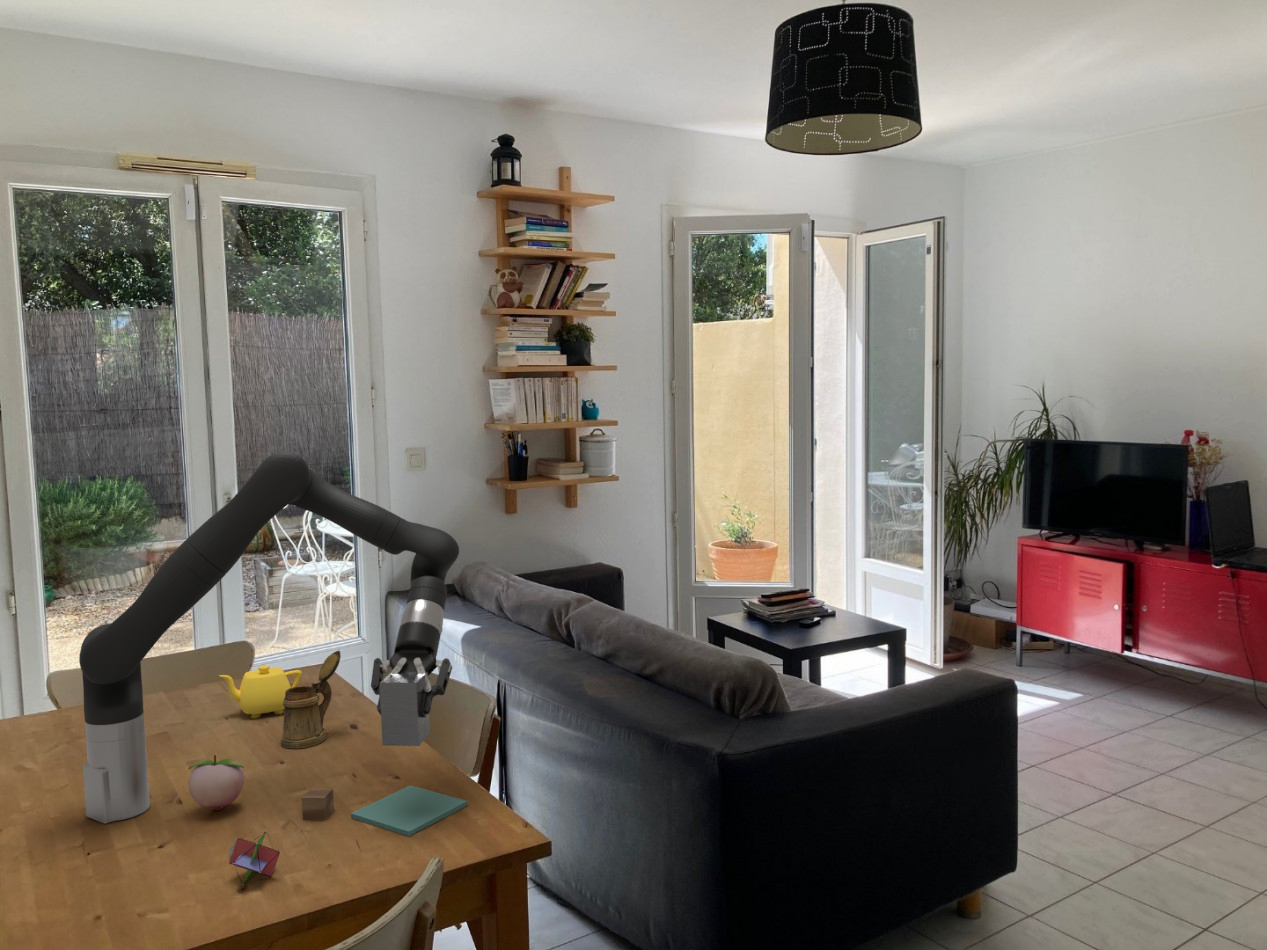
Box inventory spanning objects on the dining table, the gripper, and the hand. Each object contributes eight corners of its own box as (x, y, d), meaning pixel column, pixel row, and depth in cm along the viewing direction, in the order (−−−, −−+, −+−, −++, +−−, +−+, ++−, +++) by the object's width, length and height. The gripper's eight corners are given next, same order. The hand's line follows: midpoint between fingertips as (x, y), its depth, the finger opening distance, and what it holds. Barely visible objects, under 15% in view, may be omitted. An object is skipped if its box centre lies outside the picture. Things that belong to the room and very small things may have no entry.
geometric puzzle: (297, 852, 155) (263, 813, 154) (283, 873, 148) (247, 833, 147) (261, 880, 155) (227, 842, 154) (245, 903, 148) (210, 862, 147)
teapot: (223, 725, 221) (220, 678, 220) (219, 711, 231) (216, 666, 230) (307, 712, 229) (304, 667, 228) (300, 699, 239) (298, 655, 238)
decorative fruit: (185, 824, 171) (181, 767, 170) (193, 805, 179) (189, 751, 178) (243, 816, 173) (240, 760, 172) (248, 798, 181) (245, 744, 180)
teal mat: (409, 836, 164) (408, 831, 164) (351, 817, 172) (350, 813, 172) (467, 805, 176) (467, 801, 176) (410, 789, 183) (410, 785, 183)
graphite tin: (419, 746, 169) (416, 682, 168) (382, 745, 170) (379, 682, 169) (430, 732, 176) (427, 671, 175) (394, 732, 176) (391, 671, 175)
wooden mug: (352, 736, 212) (348, 654, 211) (289, 752, 204) (284, 666, 202) (336, 726, 219) (332, 646, 218) (274, 740, 211) (270, 657, 209)
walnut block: (325, 820, 171) (324, 798, 171) (302, 820, 171) (301, 797, 171) (334, 810, 175) (333, 788, 175) (312, 810, 175) (311, 788, 175)
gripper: (376, 619, 179) (355, 705, 168) (454, 619, 178) (438, 705, 167) (387, 641, 185) (367, 724, 174) (463, 641, 183) (448, 725, 173)
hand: (402, 715), depth 171 cm, fingers closed on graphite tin, 6 cm apart
